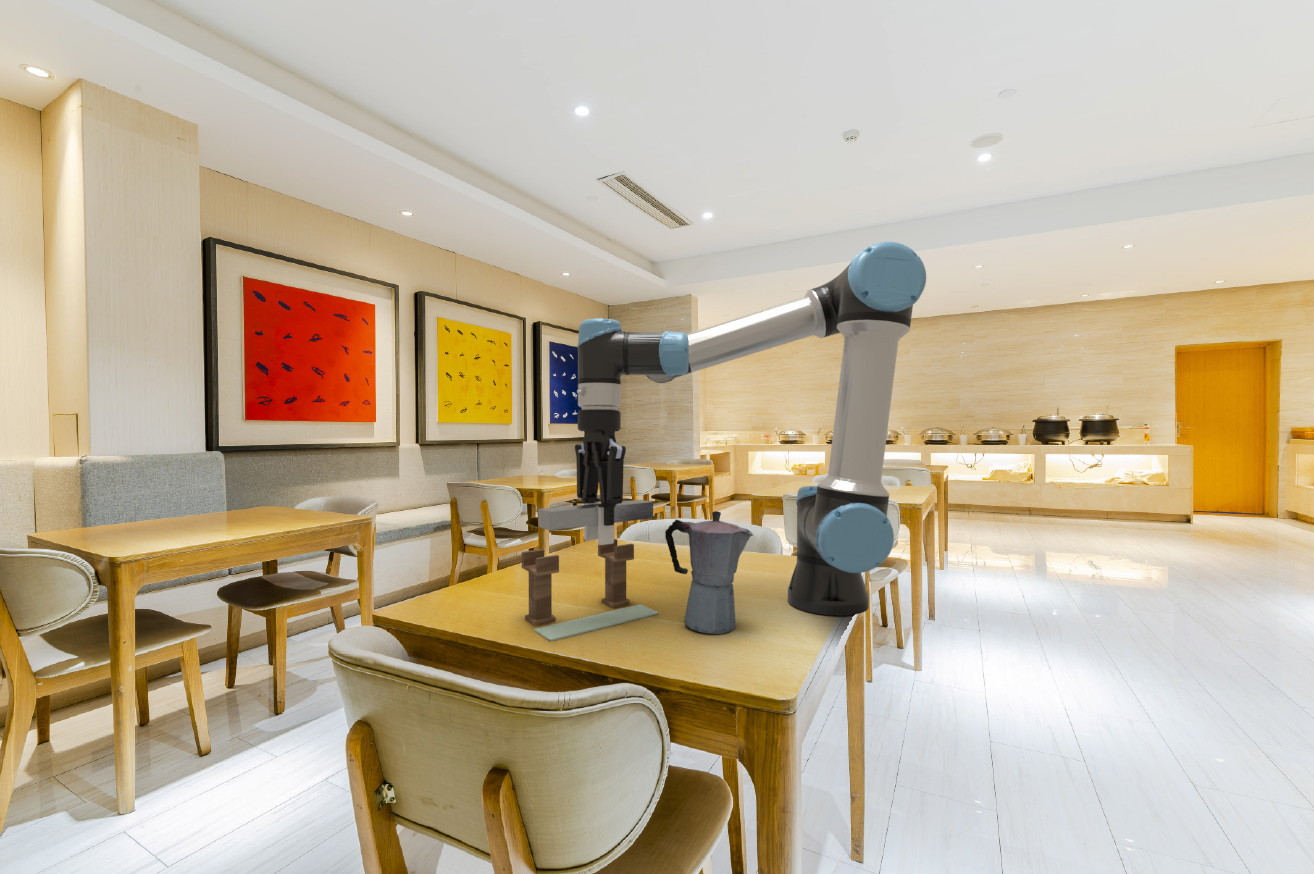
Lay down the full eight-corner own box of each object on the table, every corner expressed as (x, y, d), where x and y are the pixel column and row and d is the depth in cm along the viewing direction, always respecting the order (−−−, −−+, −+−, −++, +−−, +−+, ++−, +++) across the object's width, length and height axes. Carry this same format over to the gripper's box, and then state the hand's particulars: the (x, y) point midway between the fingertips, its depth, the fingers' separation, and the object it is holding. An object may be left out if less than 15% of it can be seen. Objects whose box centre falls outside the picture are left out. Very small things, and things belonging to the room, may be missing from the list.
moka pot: (752, 639, 89) (752, 516, 89) (658, 632, 92) (659, 513, 92) (753, 619, 99) (754, 508, 99) (668, 613, 102) (669, 505, 102)
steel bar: (653, 518, 102) (653, 502, 102) (549, 530, 89) (549, 511, 89) (640, 515, 105) (640, 499, 105) (538, 526, 92) (538, 508, 92)
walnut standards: (634, 605, 106) (634, 544, 106) (538, 628, 94) (537, 559, 94) (614, 597, 112) (614, 538, 112) (521, 617, 100) (521, 551, 100)
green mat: (659, 613, 102) (659, 612, 102) (550, 641, 88) (550, 639, 88) (640, 605, 107) (640, 604, 107) (534, 630, 93) (534, 628, 93)
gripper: (557, 409, 102) (557, 536, 102) (607, 407, 88) (606, 553, 88) (592, 410, 106) (592, 531, 106) (645, 408, 92) (644, 547, 93)
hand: (598, 541), depth 97 cm, fingers closed on steel bar, 4 cm apart
